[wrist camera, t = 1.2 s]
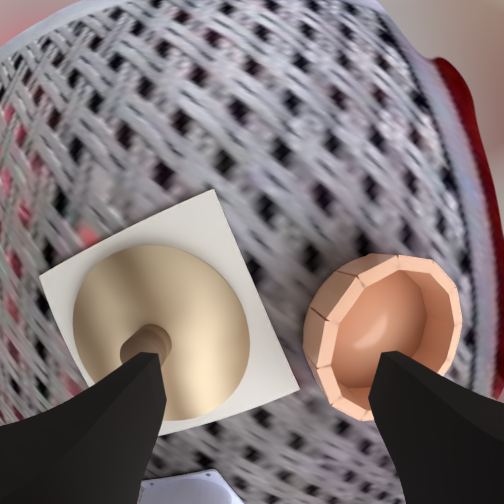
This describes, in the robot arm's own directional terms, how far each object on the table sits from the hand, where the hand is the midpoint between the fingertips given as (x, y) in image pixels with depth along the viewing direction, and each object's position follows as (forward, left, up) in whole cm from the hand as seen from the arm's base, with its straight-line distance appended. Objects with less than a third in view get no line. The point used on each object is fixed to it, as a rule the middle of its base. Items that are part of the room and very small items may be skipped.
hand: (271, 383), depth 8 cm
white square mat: (-8, 0, -14) cm, 16 cm away
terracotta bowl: (+9, -7, -14) cm, 18 cm away
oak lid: (-8, 0, -14) cm, 16 cm away
